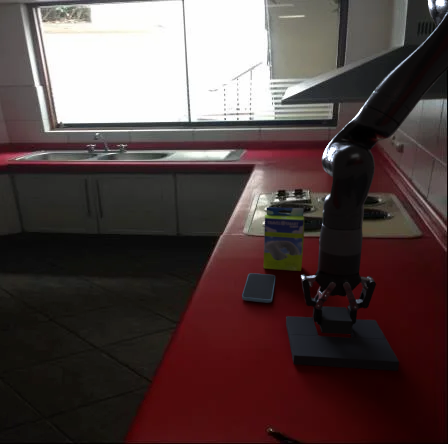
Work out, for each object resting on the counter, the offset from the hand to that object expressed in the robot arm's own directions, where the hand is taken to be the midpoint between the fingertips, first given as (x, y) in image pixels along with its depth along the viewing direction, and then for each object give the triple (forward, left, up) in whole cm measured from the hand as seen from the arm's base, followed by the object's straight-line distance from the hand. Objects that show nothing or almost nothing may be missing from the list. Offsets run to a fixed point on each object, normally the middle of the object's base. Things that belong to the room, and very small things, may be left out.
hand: (333, 323), depth 85 cm
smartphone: (+14, -20, -3) cm, 24 cm away
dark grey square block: (0, 0, -1) cm, 1 cm away
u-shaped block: (0, +3, -3) cm, 5 cm away
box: (+7, -34, -3) cm, 34 cm away
